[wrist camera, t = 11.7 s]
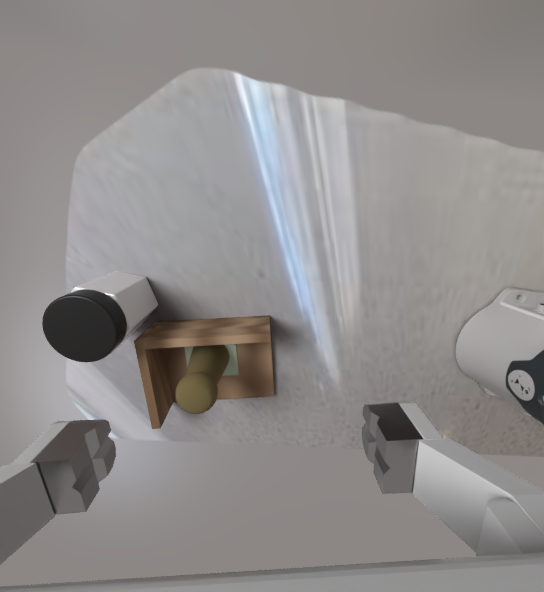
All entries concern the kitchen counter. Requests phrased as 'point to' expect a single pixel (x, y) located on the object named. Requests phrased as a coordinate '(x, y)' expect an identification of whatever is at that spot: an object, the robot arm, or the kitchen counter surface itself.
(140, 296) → the jar
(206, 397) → the olive pepper mill
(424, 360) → the kitchen counter surface
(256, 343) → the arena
